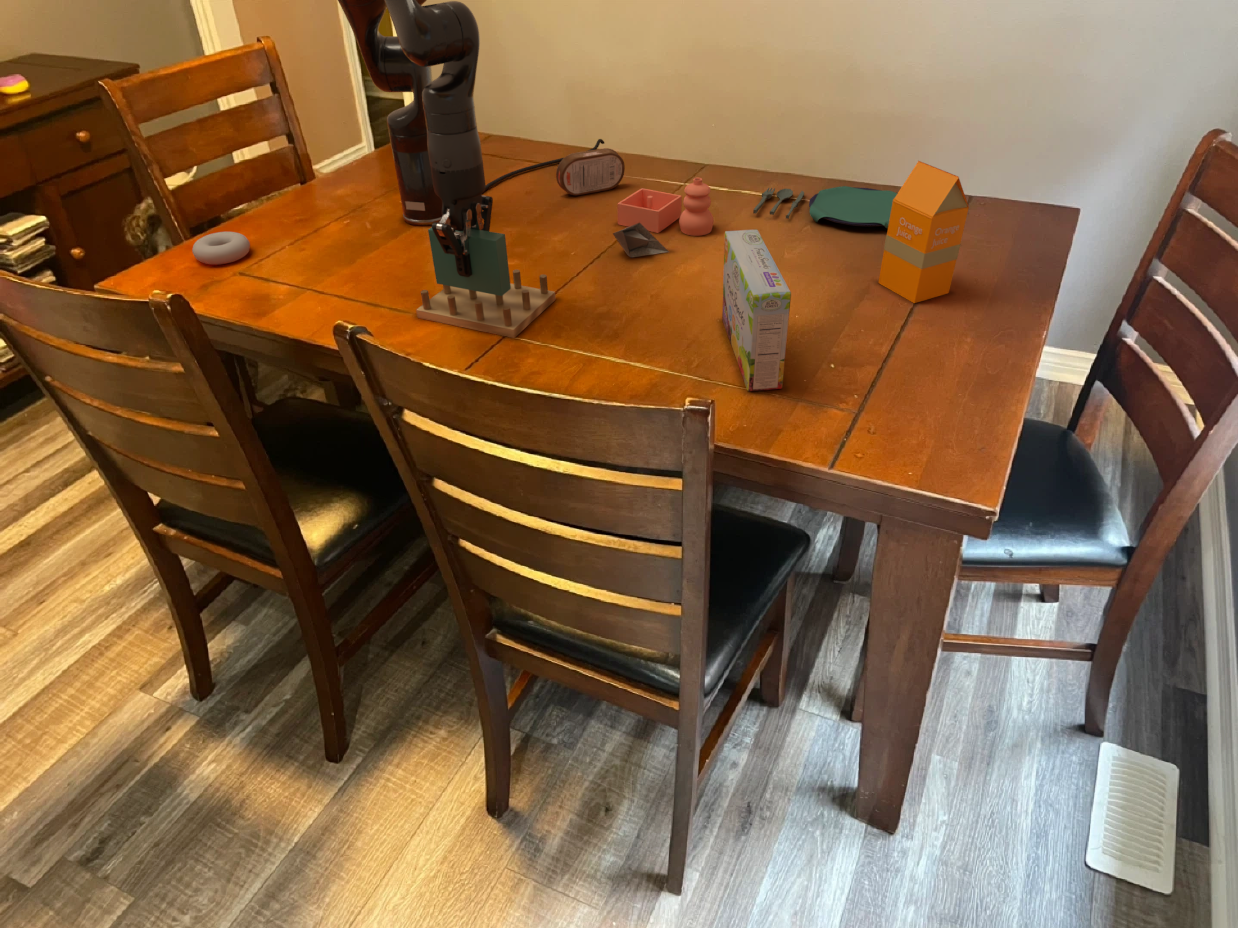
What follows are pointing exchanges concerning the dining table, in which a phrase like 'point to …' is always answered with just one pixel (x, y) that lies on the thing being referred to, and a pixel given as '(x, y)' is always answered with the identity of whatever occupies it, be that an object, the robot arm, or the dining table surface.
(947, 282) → the orange juice
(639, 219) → the pottery
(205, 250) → the donut
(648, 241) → the paper boat
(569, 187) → the tin
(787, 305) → the snack box
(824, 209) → the cutlery set
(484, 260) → the teal rectangular block
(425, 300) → the rack
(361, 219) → the dining table surface
